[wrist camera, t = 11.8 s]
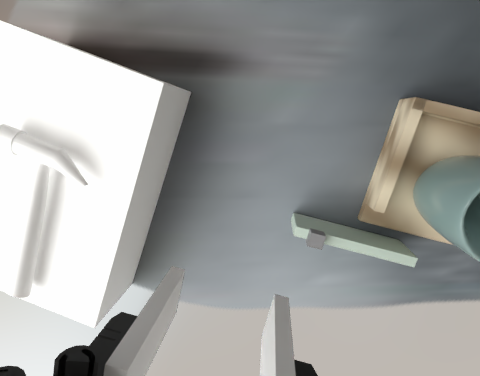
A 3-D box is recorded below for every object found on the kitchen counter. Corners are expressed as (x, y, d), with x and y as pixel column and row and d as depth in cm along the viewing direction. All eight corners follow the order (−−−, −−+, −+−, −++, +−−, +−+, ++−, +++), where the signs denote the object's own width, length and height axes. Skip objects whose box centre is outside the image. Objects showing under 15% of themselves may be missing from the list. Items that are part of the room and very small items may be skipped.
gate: (293, 210, 33) (298, 229, 28) (399, 238, 33) (425, 262, 27) (290, 222, 34) (294, 242, 28) (394, 249, 33) (419, 275, 28)
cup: (499, 190, 30) (608, 226, 20) (432, 238, 32) (502, 291, 22) (451, 133, 29) (541, 142, 19) (385, 185, 31) (437, 216, 21)
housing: (399, 99, 30) (415, 97, 26) (540, 132, 29) (575, 134, 26) (357, 217, 33) (367, 229, 30) (483, 250, 32) (508, 265, 29)
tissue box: (191, 92, 32) (152, 79, 22) (133, 282, 38) (80, 344, 28) (69, 45, 32) (-30, 9, 22) (30, 242, 39) (-61, 288, 28)
